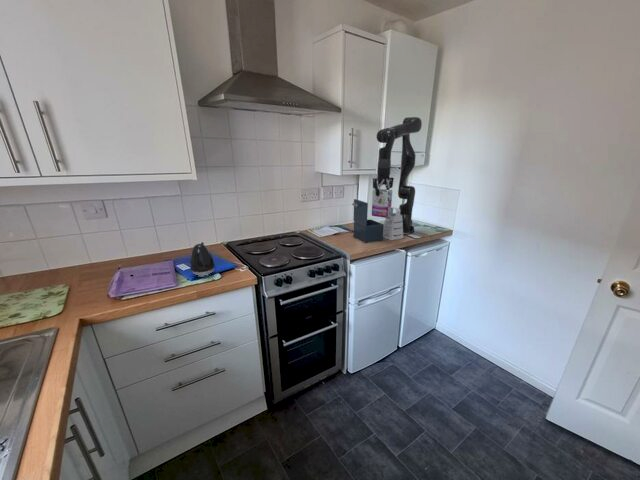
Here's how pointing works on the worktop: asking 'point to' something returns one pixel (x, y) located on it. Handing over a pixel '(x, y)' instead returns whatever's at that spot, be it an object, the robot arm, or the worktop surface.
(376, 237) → the bin
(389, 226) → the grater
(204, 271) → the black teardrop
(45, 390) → the worktop surface
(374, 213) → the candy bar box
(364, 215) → the bin lid
